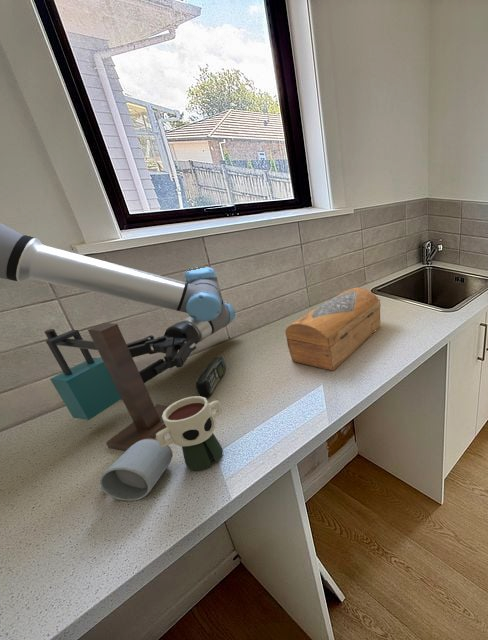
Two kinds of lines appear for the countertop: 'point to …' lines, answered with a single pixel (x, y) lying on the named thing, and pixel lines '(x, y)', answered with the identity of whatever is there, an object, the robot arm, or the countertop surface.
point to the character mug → (192, 430)
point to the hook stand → (122, 384)
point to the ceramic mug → (136, 470)
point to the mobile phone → (210, 377)
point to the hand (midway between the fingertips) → (112, 376)
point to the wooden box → (334, 329)
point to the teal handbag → (83, 382)
